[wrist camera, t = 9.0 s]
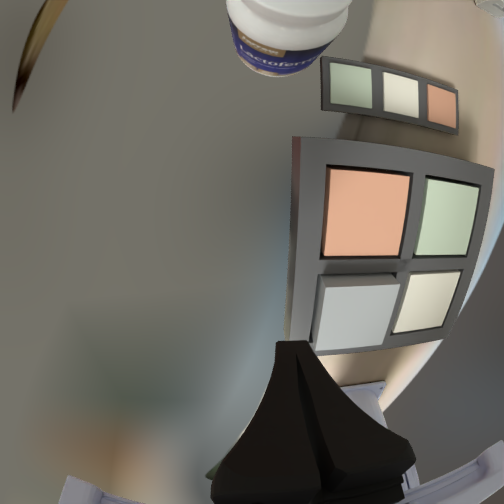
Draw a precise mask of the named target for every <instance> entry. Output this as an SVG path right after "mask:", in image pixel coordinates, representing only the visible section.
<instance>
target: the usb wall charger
mask: <svg viewBox="0 0 504 504" xmlns="http://www.w3.org/2000/svg"><path fill="white" fill-rule="evenodd" d="M475 3H476V6H477V7H479V8H480V9H482V10H484V11H485V12H487V13H489V14H490V15H492V16H494V17H496V18H502V17H504V0H475Z"/></svg>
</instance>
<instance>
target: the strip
mask: <svg viewBox="0 0 504 504" xmlns="http://www.w3.org/2000/svg"><path fill="white" fill-rule="evenodd" d="M320 72H321V110H324V111H334V112H343V113H351V114H358V115H365V116H372V117H378V118H384V119H389V120H395V121H400V122H405V123H409V124H414V125H418V126H423V127H427V128H431V129H435V130H439V131H442V132H446V133H449V134H453V135H458V124H459V111H458V90H456V89H454V88H451V87H448V86H446V85H443V84H440V83H437V82H435V81H432V80H429V79H426V78H423V77H419V76H416V75H413V74H409V73H406V72H402V71H399V70H395V69H391V68H387V67H382V66H378V65H374V64H369V63H364V62H359V61H353V60H347V59H341V58H333V57H326V56H322V57H321V58H320Z"/></svg>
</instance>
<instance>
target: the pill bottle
mask: <svg viewBox="0 0 504 504" xmlns="http://www.w3.org/2000/svg"><path fill="white" fill-rule="evenodd" d="M352 1H353V0H226V7H227V12H228V17H229V21H230V27H231V32H232V37H233V43H234V46H235V50H236V52H237V54H238V56H239V58H240V59H241V60H242V61H243V62H244V64H246V65H247V66H248V67H249V68H251V69H252V70H254V71H256V72H258V73H260V74H263V75H267V76H272V77H286V76H291V75H295V74H297V73H299V72H301V71H303V70H305V69H306V68H307V67H308V66H309V65H310V64H312V62H313V61H314V60H315V59H316V58H317V57H318V56H319V55H320V54H321V53H322V52H323V51H324V50H325V49H326V48H327V47H328V45H329V44H330V43H331V42H332V41H333V40H334V39H335V38H336V37H337V36H338V34H340V32H341V31H342V29H343V28H344V26H345V24H346V22H347V18H348V6H349V5H350V4H351V2H352Z"/></svg>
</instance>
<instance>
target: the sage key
mask: <svg viewBox="0 0 504 504" xmlns="http://www.w3.org/2000/svg"><path fill="white" fill-rule="evenodd" d="M478 191H479V188H477V187H475V186H472V185H469V184H466V183H464V182H461V181H458V180H454V179H449V178H443V177H437V176H431V175H425V184H424V193H423V200H422V207H421V214H420V220H419V226H418V231H417V236H416V241H415V246H414V251H413V253H414V254H415V255H460V254H466V251H467V247H468V243H469V239H470V235H471V230H472V226H473V221H474V216H475V210H476V204H477V198H478Z"/></svg>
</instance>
